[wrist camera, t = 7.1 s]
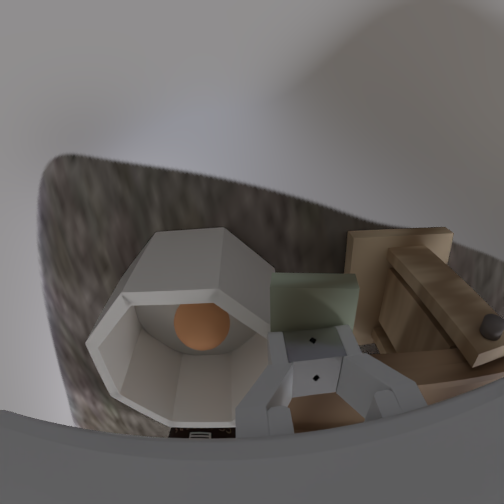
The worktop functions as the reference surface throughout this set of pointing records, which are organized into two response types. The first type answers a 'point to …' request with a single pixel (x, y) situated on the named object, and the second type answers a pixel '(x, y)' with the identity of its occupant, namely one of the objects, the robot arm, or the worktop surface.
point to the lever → (408, 364)
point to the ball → (201, 325)
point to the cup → (166, 340)
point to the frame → (418, 296)
